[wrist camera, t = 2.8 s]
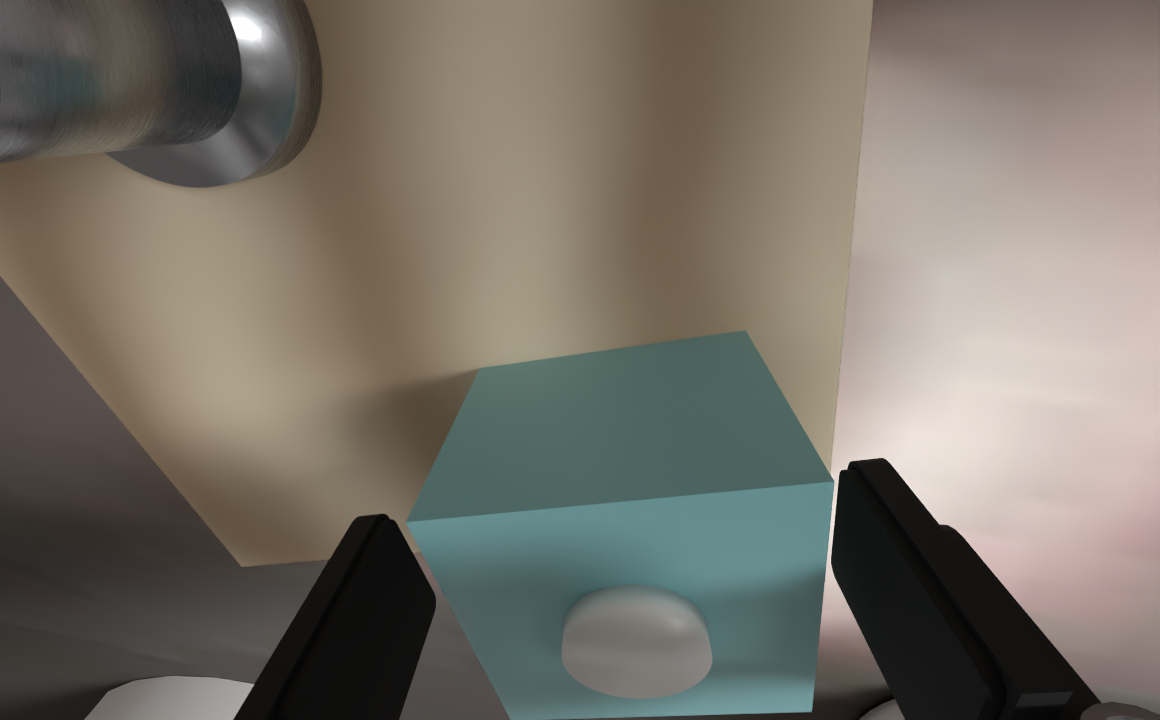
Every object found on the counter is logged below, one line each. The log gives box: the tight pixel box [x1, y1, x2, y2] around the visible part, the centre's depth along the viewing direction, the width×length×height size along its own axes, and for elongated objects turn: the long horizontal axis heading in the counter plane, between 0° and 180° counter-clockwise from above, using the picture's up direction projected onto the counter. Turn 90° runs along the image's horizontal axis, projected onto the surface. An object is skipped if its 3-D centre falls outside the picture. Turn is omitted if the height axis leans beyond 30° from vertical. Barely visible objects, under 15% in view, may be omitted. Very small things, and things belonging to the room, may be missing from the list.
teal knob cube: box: [406, 330, 834, 720], centre depth 10 cm, size 6×6×5 cm
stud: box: [0, 0, 322, 188], centre depth 5 cm, size 4×4×6 cm
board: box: [0, 0, 874, 567], centre depth 10 cm, size 18×18×1 cm
